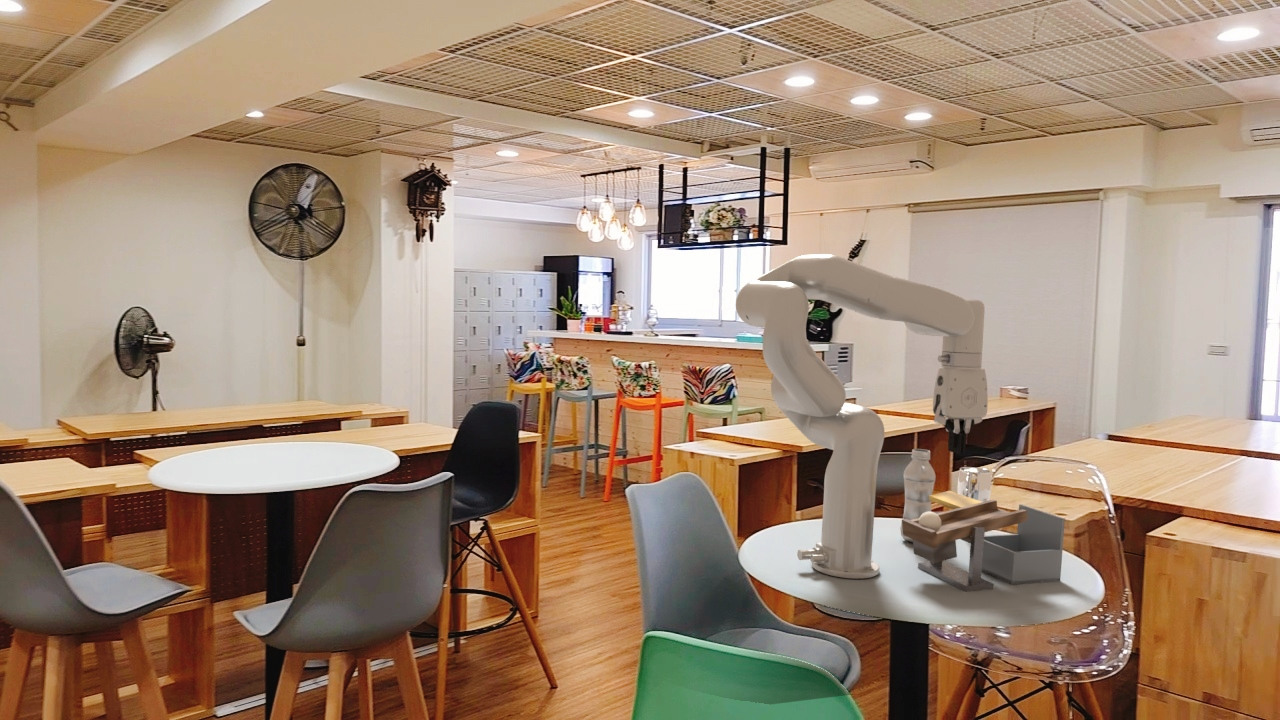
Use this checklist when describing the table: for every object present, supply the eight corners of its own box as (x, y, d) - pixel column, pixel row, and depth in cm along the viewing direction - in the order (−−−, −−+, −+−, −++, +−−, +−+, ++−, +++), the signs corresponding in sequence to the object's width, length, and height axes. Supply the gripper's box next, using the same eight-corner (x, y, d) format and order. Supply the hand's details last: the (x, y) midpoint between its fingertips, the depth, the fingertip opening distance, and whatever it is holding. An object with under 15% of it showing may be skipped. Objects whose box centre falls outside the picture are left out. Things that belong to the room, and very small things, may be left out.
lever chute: (934, 567, 158) (931, 532, 157) (874, 538, 176) (871, 506, 175) (1028, 541, 164) (1026, 507, 163) (961, 516, 182) (959, 485, 181)
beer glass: (952, 536, 194) (956, 470, 193) (956, 530, 201) (961, 465, 200) (985, 542, 191) (990, 474, 190) (989, 535, 197) (993, 469, 196)
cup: (1011, 584, 162) (1016, 521, 161) (971, 566, 173) (975, 506, 172) (1060, 580, 166) (1064, 518, 165) (1017, 563, 176) (1021, 504, 175)
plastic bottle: (928, 548, 185) (934, 454, 183) (896, 542, 188) (901, 450, 186) (934, 541, 190) (940, 450, 189) (903, 536, 193) (908, 446, 192)
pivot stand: (965, 591, 157) (970, 530, 156) (917, 567, 170) (921, 511, 170) (993, 589, 159) (997, 528, 158) (943, 565, 172) (947, 509, 171)
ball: (928, 538, 160) (926, 517, 159) (915, 532, 164) (913, 511, 163) (947, 533, 161) (945, 512, 160) (933, 527, 165) (931, 507, 164)
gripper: (942, 362, 169) (937, 456, 170) (1005, 362, 173) (1000, 454, 175) (918, 359, 176) (913, 450, 177) (979, 359, 180) (974, 447, 182)
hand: (956, 451), depth 176 cm, fingers closed
